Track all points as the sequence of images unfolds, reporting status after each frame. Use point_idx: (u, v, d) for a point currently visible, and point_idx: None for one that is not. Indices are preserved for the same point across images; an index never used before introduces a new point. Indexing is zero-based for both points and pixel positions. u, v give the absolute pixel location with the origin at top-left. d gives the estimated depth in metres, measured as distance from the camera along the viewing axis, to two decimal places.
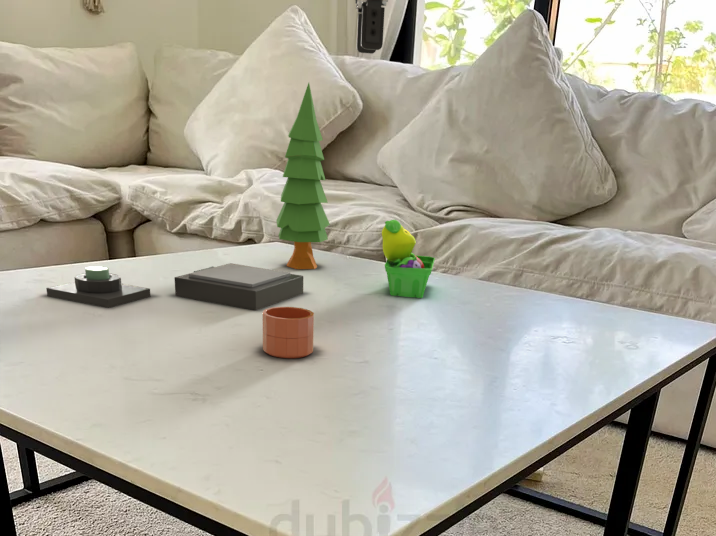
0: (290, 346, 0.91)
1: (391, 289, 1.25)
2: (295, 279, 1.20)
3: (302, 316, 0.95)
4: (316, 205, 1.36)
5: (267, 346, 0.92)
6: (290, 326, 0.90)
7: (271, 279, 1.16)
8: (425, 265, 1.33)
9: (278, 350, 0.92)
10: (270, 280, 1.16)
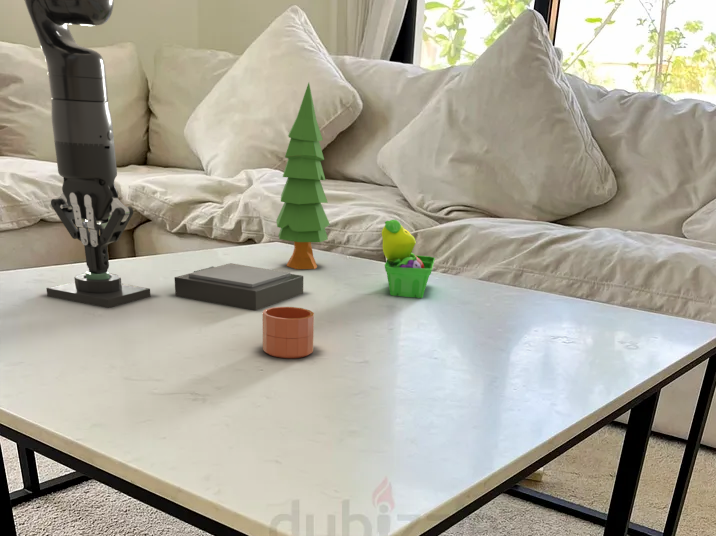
0: (290, 346, 0.91)
1: (391, 289, 1.25)
2: (295, 279, 1.20)
3: (302, 316, 0.95)
4: (316, 205, 1.36)
5: (267, 346, 0.92)
6: (290, 326, 0.90)
7: (271, 279, 1.16)
8: (425, 265, 1.33)
9: (278, 350, 0.92)
10: (270, 280, 1.16)
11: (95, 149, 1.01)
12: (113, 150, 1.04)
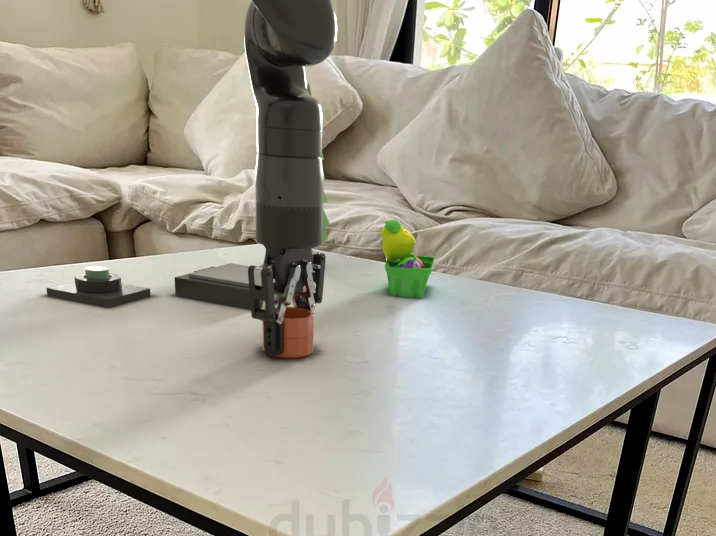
0: (290, 346, 0.91)
1: (391, 289, 1.25)
2: None
3: (302, 316, 0.95)
4: None
5: None
6: (290, 326, 0.90)
7: None
8: (425, 265, 1.33)
9: None
10: None
11: None
12: None
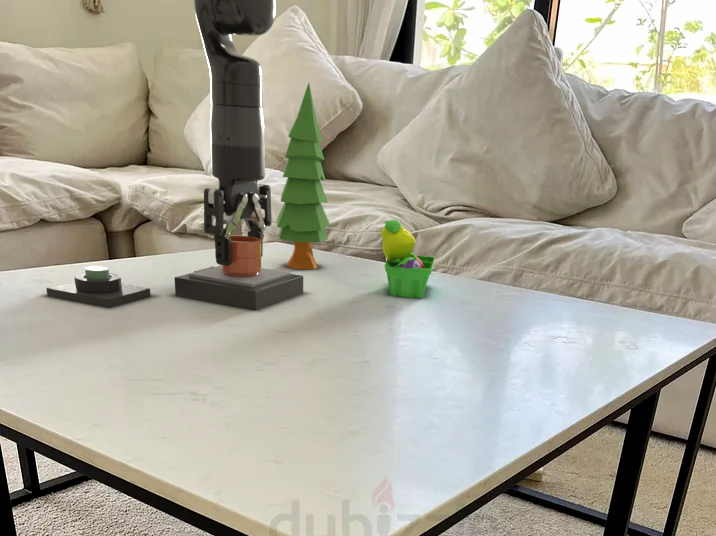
0: (241, 264, 1.15)
1: (391, 289, 1.25)
2: (295, 279, 1.20)
3: None
4: (316, 205, 1.36)
5: (223, 265, 1.16)
6: (240, 248, 1.14)
7: (271, 279, 1.16)
8: (425, 265, 1.33)
9: (231, 268, 1.15)
10: (270, 280, 1.16)
11: None
12: None
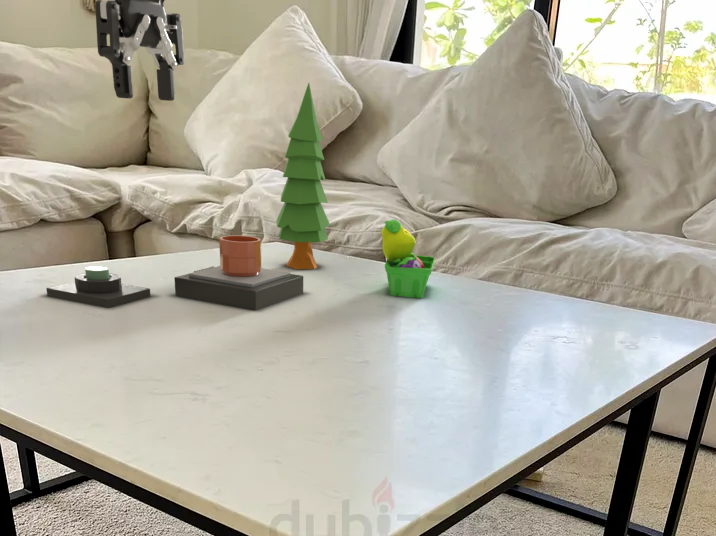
0: (241, 264, 1.15)
1: (391, 289, 1.25)
2: (295, 279, 1.20)
3: None
4: (316, 205, 1.36)
5: (223, 265, 1.16)
6: (240, 248, 1.14)
7: (271, 279, 1.16)
8: (425, 265, 1.33)
9: (231, 268, 1.15)
10: (270, 280, 1.16)
11: None
12: None
